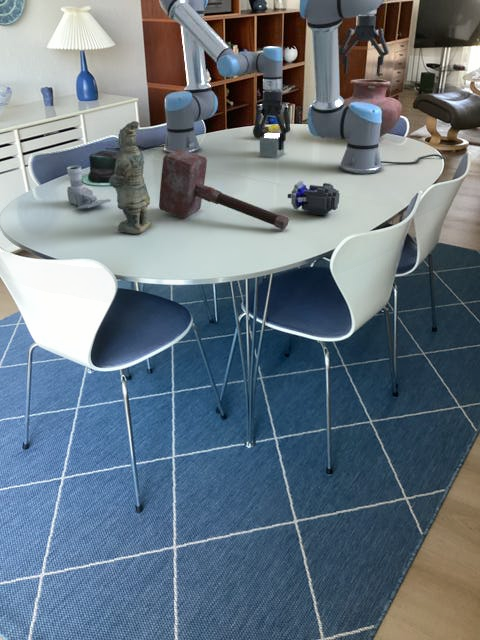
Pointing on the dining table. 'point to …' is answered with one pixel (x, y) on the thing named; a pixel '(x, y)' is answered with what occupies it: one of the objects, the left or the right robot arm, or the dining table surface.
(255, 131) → the figurine
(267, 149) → the metal block
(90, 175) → the green top hat
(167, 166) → the sledgehammer
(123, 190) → the statue
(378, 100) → the clay pot
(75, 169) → the grey piece
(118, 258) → the dining table surface
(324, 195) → the toy
